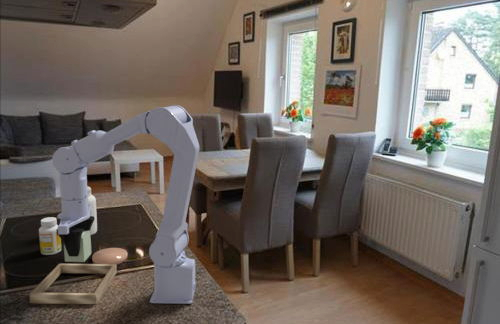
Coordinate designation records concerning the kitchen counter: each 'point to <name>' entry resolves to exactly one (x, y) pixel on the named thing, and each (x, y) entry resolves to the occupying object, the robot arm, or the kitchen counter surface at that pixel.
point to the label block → (81, 249)
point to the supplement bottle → (49, 236)
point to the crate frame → (73, 298)
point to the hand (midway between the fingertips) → (78, 251)
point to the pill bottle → (93, 205)
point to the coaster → (109, 256)
